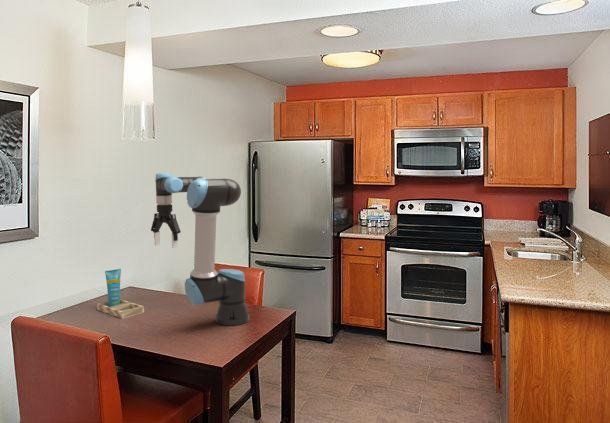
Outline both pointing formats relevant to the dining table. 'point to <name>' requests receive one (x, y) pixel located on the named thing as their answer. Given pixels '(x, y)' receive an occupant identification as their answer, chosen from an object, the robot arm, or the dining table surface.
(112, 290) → the tube
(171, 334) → the dining table surface
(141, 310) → the wooden compartment tray
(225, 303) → the robot arm
